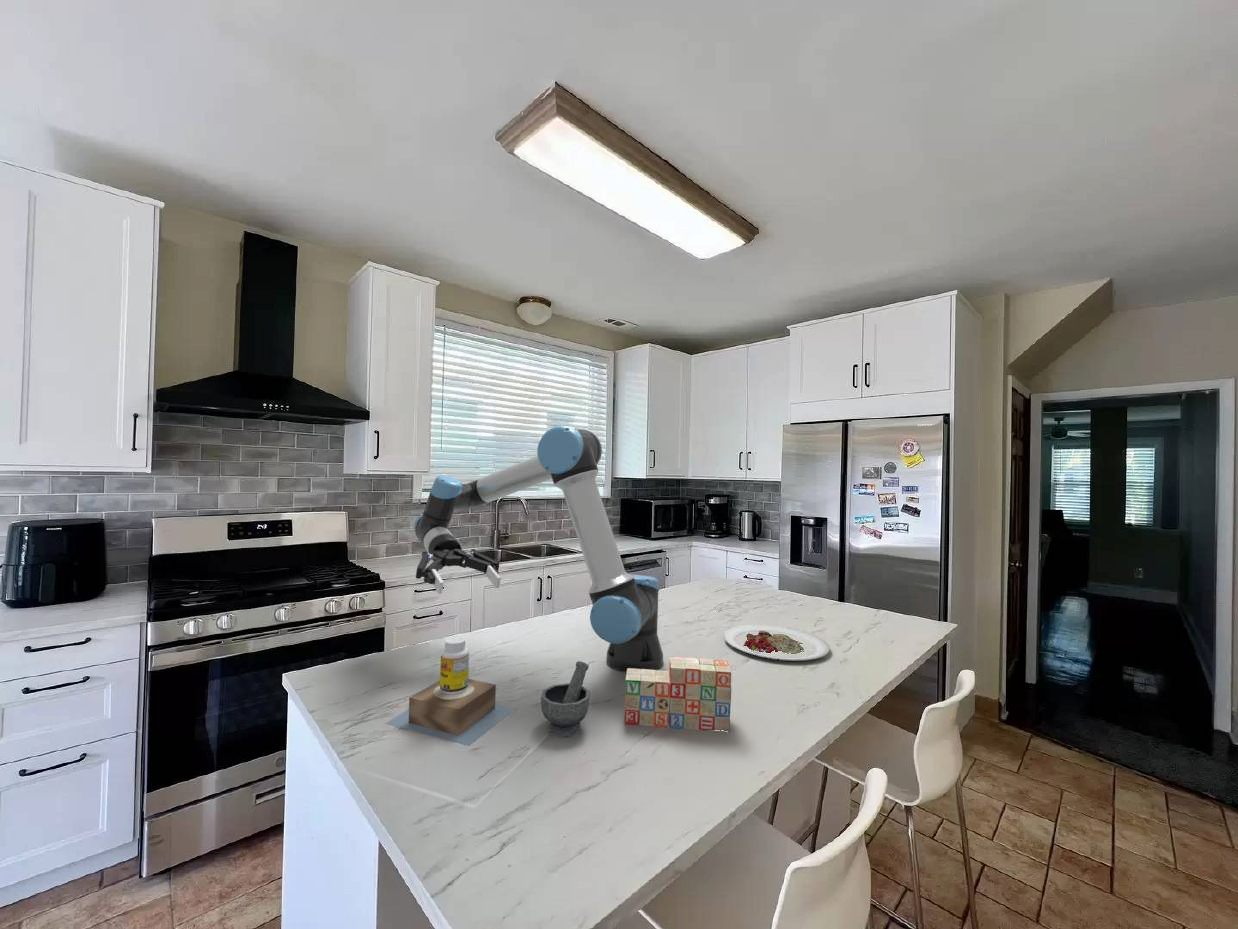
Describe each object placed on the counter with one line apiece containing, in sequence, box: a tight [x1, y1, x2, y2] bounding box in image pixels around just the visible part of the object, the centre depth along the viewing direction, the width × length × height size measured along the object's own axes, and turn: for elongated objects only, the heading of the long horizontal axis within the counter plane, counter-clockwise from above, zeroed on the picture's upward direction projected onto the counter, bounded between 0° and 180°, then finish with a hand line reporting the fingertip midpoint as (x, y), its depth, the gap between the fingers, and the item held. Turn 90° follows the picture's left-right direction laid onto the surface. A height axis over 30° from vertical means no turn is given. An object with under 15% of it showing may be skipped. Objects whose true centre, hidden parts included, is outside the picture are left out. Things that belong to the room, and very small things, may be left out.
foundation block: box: [408, 678, 497, 736], centre depth 106 cm, size 12×12×5 cm
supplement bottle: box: [439, 636, 470, 695], centre depth 106 cm, size 6×6×10 cm
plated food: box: [723, 624, 831, 662], centre depth 154 cm, size 30×30×3 cm
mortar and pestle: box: [540, 660, 591, 738], centre depth 103 cm, size 11×9×12 cm
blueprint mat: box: [384, 702, 517, 746], centre depth 106 cm, size 20×16×1 cm
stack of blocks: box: [623, 656, 732, 731], centre depth 107 cm, size 21×6×12 cm, turn 85°
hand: (470, 585), depth 119 cm, fingers open, 13 cm apart
